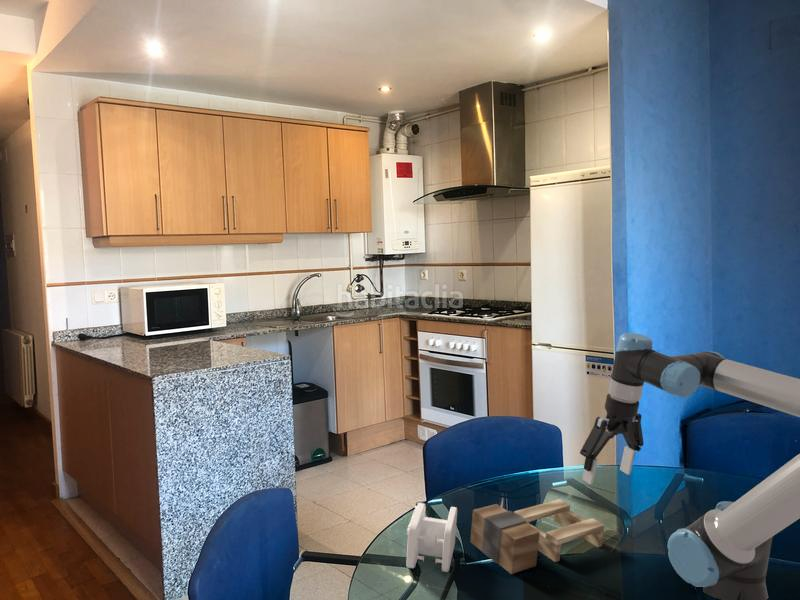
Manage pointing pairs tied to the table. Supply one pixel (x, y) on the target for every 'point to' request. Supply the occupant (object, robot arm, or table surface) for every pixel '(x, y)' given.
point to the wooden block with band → (504, 538)
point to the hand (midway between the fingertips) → (606, 476)
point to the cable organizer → (431, 537)
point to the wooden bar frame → (570, 531)
